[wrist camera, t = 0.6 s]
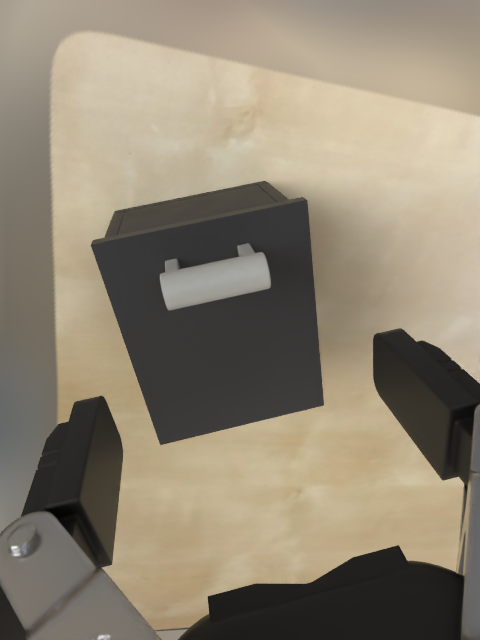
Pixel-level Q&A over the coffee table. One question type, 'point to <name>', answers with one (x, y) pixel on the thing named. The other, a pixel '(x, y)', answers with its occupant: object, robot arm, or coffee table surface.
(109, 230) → the dark grey hollow box
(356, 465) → the coffee table surface
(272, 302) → the lid
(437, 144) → the coffee table surface
